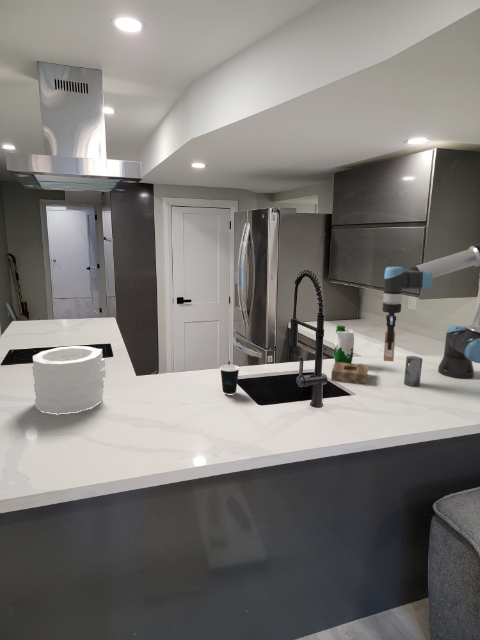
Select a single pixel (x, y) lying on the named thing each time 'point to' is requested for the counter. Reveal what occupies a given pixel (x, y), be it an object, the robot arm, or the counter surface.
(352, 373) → the socket block
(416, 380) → the round post
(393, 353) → the square peg
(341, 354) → the milk carton
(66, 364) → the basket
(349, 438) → the counter surface
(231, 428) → the counter surface
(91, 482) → the counter surface
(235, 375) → the dixie cup
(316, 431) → the counter surface
